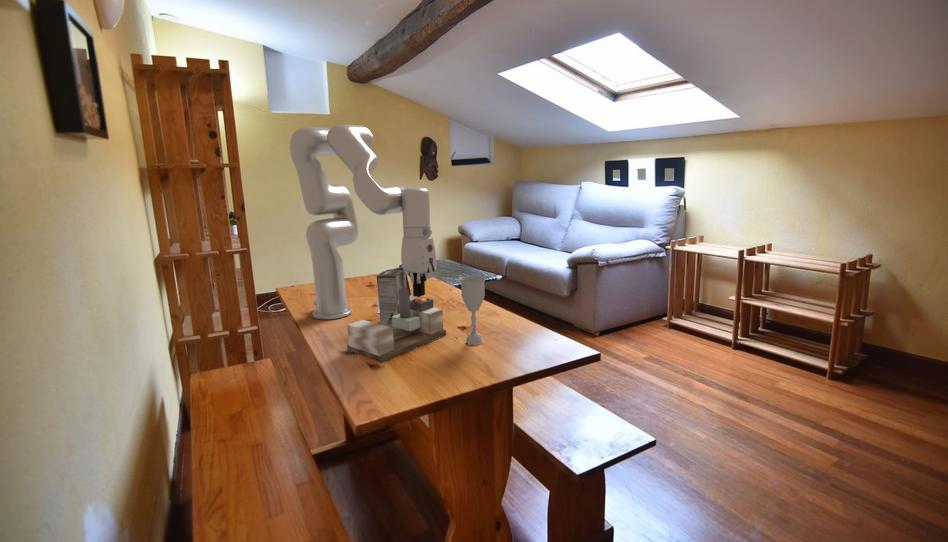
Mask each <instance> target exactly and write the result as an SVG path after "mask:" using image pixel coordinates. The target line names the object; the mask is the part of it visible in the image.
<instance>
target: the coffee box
mask: <svg viewBox="0 0 948 542" xmlns="http://www.w3.org/2000/svg"><path fill="white" fill-rule="evenodd" d="M376 282H377V283H376V284H377V285H376V287H377V297H378V308H379V309H378V310H379V324H380V325H384V326H388V327H391V328H393V327H392V316H395V315H398V314H400V308H399V292H398V289H400V288H408V282H407V274H405V273H404V269H386V270H385V271H383V272H381V273H380V274H378V275H377V276H376Z"/></svg>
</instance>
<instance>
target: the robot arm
mask: <svg viewBox="0 0 948 542" xmlns="http://www.w3.org/2000/svg"><path fill="white" fill-rule="evenodd" d="M374 142H375V141H374V135H373V134H372V132H371V131H370V130H369V129H368V128H367V127H366V126H364V125H358V124H345V123H343V124H337V125H333V126H332V127H324V126H323V127H322V126H321V127H320V126H305V127H304V126H303V127H300V128H298V129H295V131H294V132H293V133H292V135H291V137H290V141H289V154H290V157H291V159H292V162H293V165H294V167H295V170H296V174H297V175H298V176H297V177H298V181H299V185H300V186H299V187H300V190H301V195H302V199H303V204H304V207H305V210H306V212H307V213H308V214H309V215H311V216H327V215H332V216H333V217H332V218H331V217H330V218H324V219H318V220H314V221H313V222H311V223H310V224H309V225H308V227H307V228H306V231H305V236H306V241H307V244H308V247H309V251H310V257H311V262H312V263H311V265H312V270H313V271H312V272H313V281H314V282H313V283H314V292H315V300H313V302H312V305H313V306H315V310H313V312H312V317H313V318H314V319H316V320H317V319H318V320H335V319H336V320H337V319H340V318H344V317H347V316H349V315H351V314H352V312H353V309H352V307H350V306H349V305H347V293H346V284H345V272H344V262H343V261H344V260H343V259H342V256H341V255H340V253H339V252H338V250H337V248H339V247H343V246H348V245H351V244H354V243H355V242H356V241H357V239H358V238H359V237H358V236H359V226H358V220H357V216H356V212H355V206H354V205H355V204H354V202H353V201H354V200H353V197H352V195H351V193H350V191H349V190H348V189H347V188H346V187H345V186H343V185H342V184H330V183H329V181H328V177H327V172H326V169H325V167H324V166H323V164H322V163H321V162H320V160H319V159H317V156H337V157H338V158H339V159H340V160H341V161H342V163H343V164H344V165H345V166H346V167H347V168H348V170H350V172H351V173H352V174H353V176H352V183H353V189H354V191H355V194H356V196H357V197H358V198H359V200H360V201H361V202H362V203H363V205H364V206H365V207H366V208H367V209H368V210H369V211H370V212H371V213H373V214H375V215H378V216H385V215H391V214H401V213H402V228H403V229H402V232H403V234H402V235H403V237H402V240H401V253H400V255H401V259H400V260H401V268H402V270H404V273H405V274H406V276H408V277H409V278H410V282H411V283H412V295H413V297H415V298H419V297H424V296H425V294H426V286H425V285H426V282H427V280H428V279H432V278H434V272H436V271H437V253H436V247H435V242H434V239H433V237H431V236H432V233H433V231H432V230H431V211H430V208H431V207H430V206H431V205H430V191H429V189H427V188H425V187H408V186H405V185H398V186H396V185H394V186H392V185H391V186H382V187H380V186H379V185H378V183H377V182H376V181H375V180H374V179H373V178H372V176H371V174H372V173H373V172H374V170H376V168H377V165H378V163H379V162H378V160H379V159H378V157H377V155H376V154H375V153H374V152H373V151H372V149H373V147H374Z"/></svg>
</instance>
